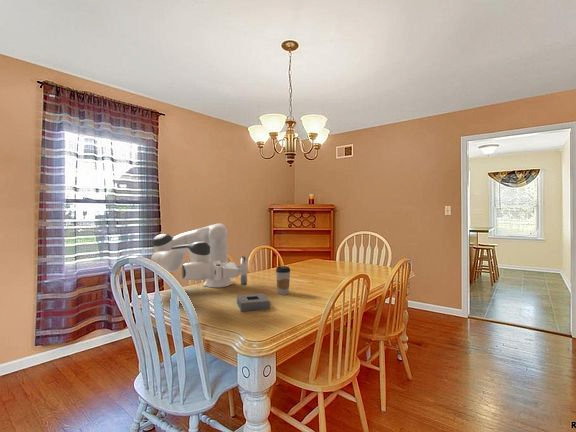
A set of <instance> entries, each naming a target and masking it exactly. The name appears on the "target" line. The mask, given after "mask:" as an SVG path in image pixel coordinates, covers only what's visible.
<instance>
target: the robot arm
mask: <svg viewBox="0 0 576 432" xmlns="http://www.w3.org/2000/svg"><path fill="white" fill-rule="evenodd" d="M151 242H152V247H153V250H154V253H153V254H152V255H151V258H150V262H151V261H153V262H156V263H157V264H159V265H160V266H162V267H163V268H164V269H166V270H167V271H168V273H170V272H172V273H173V272H176V271H178V270H179V269H181V274H182V276H181V277H182V279H183V280H185V281H187V280H188V281H204V280H205V281H204V283H203V284H202V286H203V287H209V288H225V287H228V286H230V285H234V282H233V281H232V279H233V278H238V277H239V276H240V275H239V274H241V272H246V271H247V272H248V267H247V268H246V267H243V268H241V265H239V264H238V265H236V263H235V262H232V261H230V262H228V229H227V227H226V225H225V224H223V223H220V222H219V223H215V224H214V223H213V224H210V225H207V226H203V227H200V228H196V229H193V230H189V231H185V232H182V233H181V232H180V233H179V234H177V235H175V236H173V235H170V234H168V233H160V234H157V235H156V236H154V237H153V238H152V241H151ZM186 252H188V253H189V262H185V263H183V262H184V257H185V255H186ZM167 271H166V272H167Z"/></svg>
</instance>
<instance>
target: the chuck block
mask: <svg viewBox="0 0 576 432" xmlns="http://www.w3.org/2000/svg"><path fill="white" fill-rule="evenodd" d="M236 304H237V307H238V309H239V311H240V312H241V313H242V312H243V313H244V312H252V311H254V312H255V311H262V310H263V311H264V310H270V308H271V301H270V299H269V298H268V297H267V296H266V295H265V293H251V294H238V295H236Z"/></svg>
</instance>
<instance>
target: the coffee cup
mask: <svg viewBox="0 0 576 432" xmlns="http://www.w3.org/2000/svg"><path fill="white" fill-rule="evenodd" d="M275 273H276V275H275V276H276V288H277V291H276V292H277V294H278V295H282V296H284V295H288V294H289V293H290V278H291V277H290V276H291V267H289V266H285V265H283V266H276V268H275Z"/></svg>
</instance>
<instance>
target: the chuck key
mask: <svg viewBox="0 0 576 432" xmlns="http://www.w3.org/2000/svg"><path fill="white" fill-rule="evenodd" d="M240 266H241V268H243V267H246V268H247V269H248V258H247V257H246V256H245V255H242V257H241V258H240ZM240 286H243V287H244V286H248V270H247V271H246V272H240Z"/></svg>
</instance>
